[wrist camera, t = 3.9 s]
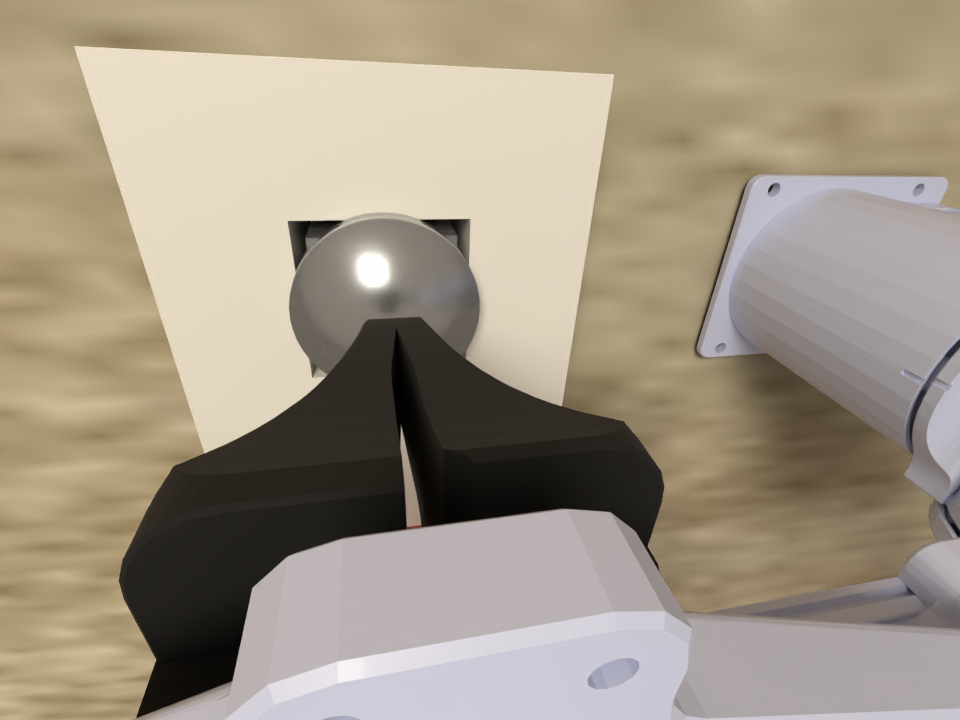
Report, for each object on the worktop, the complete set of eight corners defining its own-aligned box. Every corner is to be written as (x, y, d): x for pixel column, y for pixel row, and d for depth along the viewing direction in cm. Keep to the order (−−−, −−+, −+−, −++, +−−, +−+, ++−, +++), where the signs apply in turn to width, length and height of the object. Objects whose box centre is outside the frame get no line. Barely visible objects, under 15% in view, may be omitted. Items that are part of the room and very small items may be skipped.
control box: (560, 73, 16) (614, 74, 12) (507, 558, 28) (527, 625, 25) (146, 51, 13) (74, 45, 10) (286, 593, 25) (274, 672, 22)
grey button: (455, 184, 17) (484, 219, 13) (453, 321, 19) (476, 384, 15) (294, 183, 16) (273, 221, 12) (315, 328, 18) (303, 398, 14)
